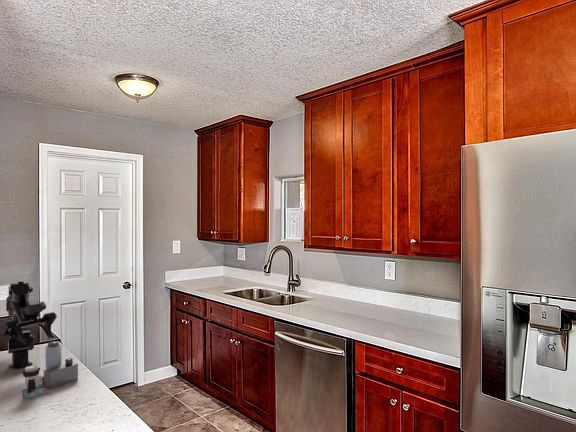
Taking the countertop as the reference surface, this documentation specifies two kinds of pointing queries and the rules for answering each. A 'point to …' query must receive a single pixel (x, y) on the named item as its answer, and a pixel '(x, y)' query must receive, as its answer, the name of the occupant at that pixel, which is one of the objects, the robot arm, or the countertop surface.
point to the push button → (31, 382)
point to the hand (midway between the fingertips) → (38, 340)
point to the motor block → (59, 375)
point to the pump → (53, 355)
